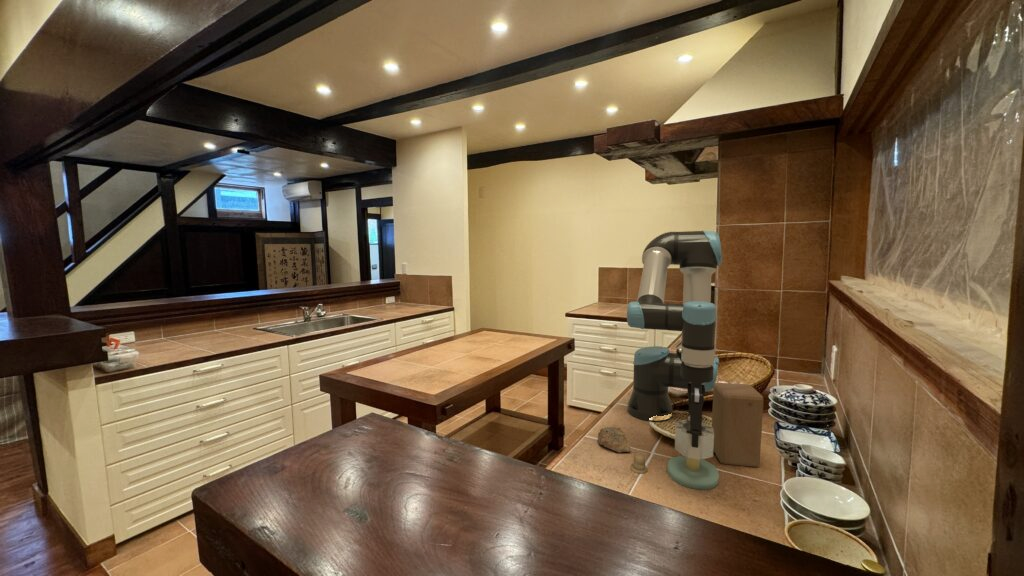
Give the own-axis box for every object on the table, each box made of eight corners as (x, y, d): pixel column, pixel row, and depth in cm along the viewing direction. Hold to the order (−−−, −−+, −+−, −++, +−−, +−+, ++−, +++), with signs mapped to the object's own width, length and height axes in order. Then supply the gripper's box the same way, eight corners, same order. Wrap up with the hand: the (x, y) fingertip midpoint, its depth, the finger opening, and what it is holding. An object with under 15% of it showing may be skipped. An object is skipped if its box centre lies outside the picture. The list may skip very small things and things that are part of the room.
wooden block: (760, 468, 105) (765, 396, 103) (720, 465, 107) (723, 394, 105) (746, 449, 115) (750, 383, 113) (709, 446, 117) (712, 381, 115)
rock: (592, 440, 122) (605, 450, 112) (596, 421, 123) (609, 430, 113) (618, 445, 123) (633, 455, 113) (622, 425, 124) (637, 435, 114)
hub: (668, 459, 110) (668, 438, 110) (716, 468, 106) (717, 446, 105) (666, 483, 100) (667, 460, 99) (720, 494, 95) (721, 470, 94)
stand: (631, 462, 109) (632, 449, 108) (648, 466, 107) (648, 452, 107) (629, 471, 105) (630, 457, 104) (647, 475, 103) (647, 460, 103)
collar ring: (675, 438, 107) (675, 417, 107) (711, 444, 104) (712, 423, 103) (674, 454, 99) (675, 431, 99) (713, 461, 96) (715, 438, 95)
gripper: (680, 351, 111) (677, 428, 113) (680, 374, 91) (677, 467, 93) (710, 353, 108) (707, 432, 110) (717, 378, 88) (712, 474, 90)
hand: (693, 448), depth 102 cm, fingers closed on collar ring, 9 cm apart
